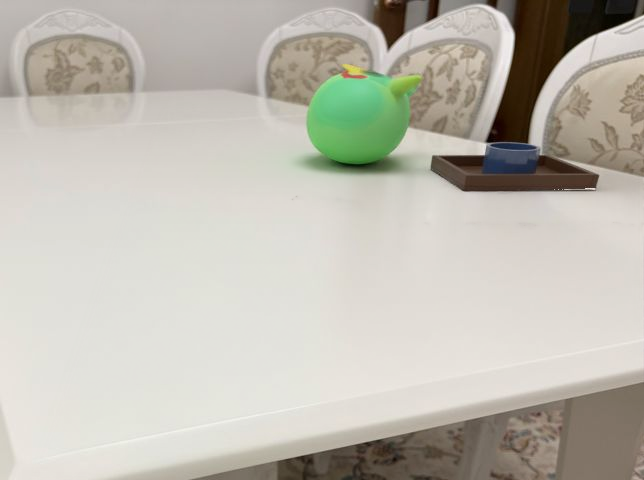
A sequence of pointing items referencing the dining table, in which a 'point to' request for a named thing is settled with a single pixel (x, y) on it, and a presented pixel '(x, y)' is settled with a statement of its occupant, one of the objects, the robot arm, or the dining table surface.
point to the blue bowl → (510, 158)
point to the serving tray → (512, 175)
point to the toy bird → (360, 115)
